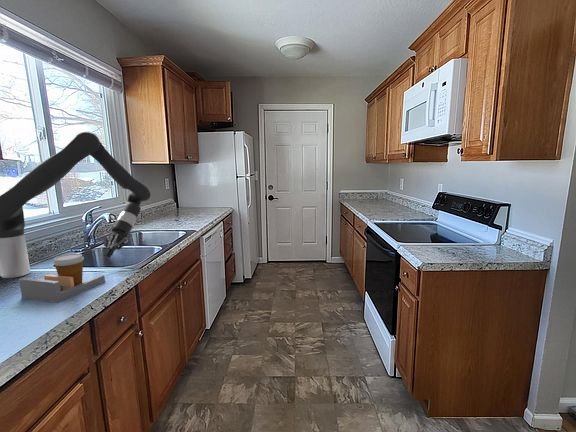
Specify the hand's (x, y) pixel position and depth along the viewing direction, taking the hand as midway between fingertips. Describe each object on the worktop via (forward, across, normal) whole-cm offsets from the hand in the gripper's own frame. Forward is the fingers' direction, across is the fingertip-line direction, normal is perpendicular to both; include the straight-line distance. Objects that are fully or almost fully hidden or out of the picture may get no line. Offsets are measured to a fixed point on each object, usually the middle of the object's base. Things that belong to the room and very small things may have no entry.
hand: (106, 257), depth 131 cm
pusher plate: (+20, +1, -14) cm, 24 cm away
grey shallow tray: (+18, +1, -11) cm, 21 cm away
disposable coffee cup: (+17, +2, -9) cm, 19 cm away
